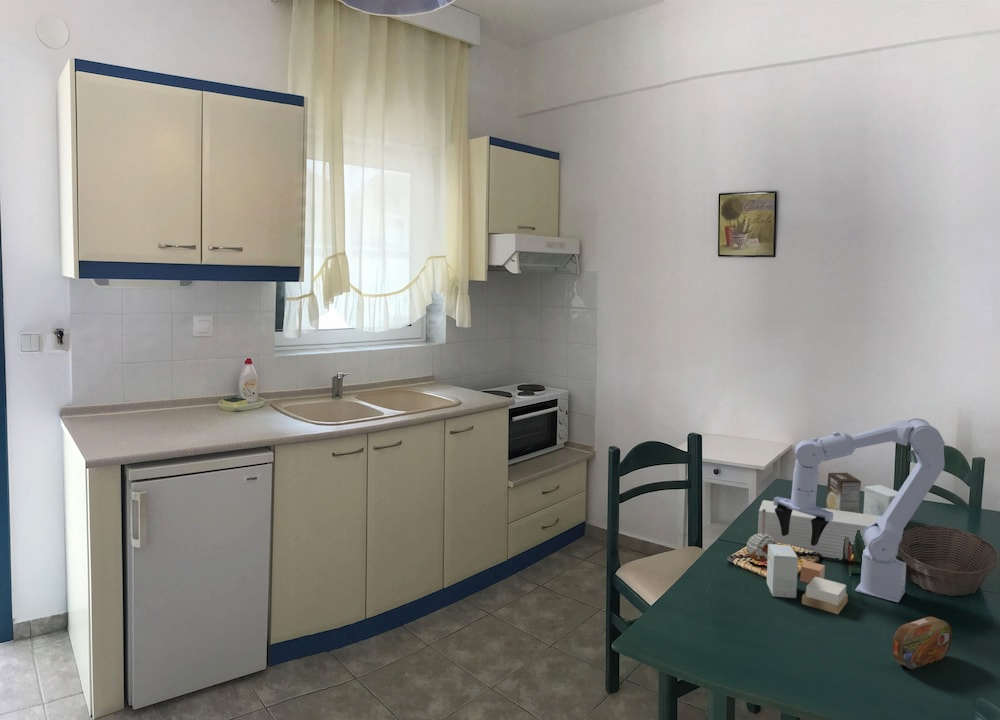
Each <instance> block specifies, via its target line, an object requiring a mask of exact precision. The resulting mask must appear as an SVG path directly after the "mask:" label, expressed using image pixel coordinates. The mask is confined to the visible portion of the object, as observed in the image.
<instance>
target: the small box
mask: <svg viewBox="0 0 1000 720" xmlns="http://www.w3.org/2000/svg"><path fill="white" fill-rule="evenodd" d="M798 566H799V557H798V555H797V552H794V550H793V548H792V547H791V545H778V544H768V560H767V566H766V567H767V568H766V571H767V572H766V584H767V587H768V589H769V592H770V593H771V595H772V597H775V598H790V599H797V594H798V593H797V592H798V591H797V589H798V568H799V567H798Z"/></svg>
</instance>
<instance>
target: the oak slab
mask: <svg viewBox="0 0 1000 720" xmlns="http://www.w3.org/2000/svg"><path fill="white" fill-rule="evenodd" d="M848 595H849V594H848V593H846V595H845V596H844V598H843V599H842V600H841V602H840V603H839V604H838V605H834V604H831V603H827V602H824V601H820V600H817V599H813V598H810V597H806V591H805V592H804V593H803V594H802V596H801V604H802V605H805V606H808V607H812V608H816V609H819V610H822V611H825V612H829V613H832V614H835V615H839V614H840V613H841V611H842V610H843V609H844V607H845V606H846V605H847V604H848Z"/></svg>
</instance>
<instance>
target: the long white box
mask: <svg viewBox="0 0 1000 720" xmlns="http://www.w3.org/2000/svg"><path fill="white" fill-rule="evenodd" d="M773 502H774V500H765V499H763V500H762V502H761V505H760V508H759V509H758V521H757V525H758V526H757V534H760V533H761V531H762V510H763V509H766V512H765V533H764V534H766V535H769V536H771V537H772V538H773V539H774V540H775V541H776V542H778V543H784V544H790V545H793V546H797V547H800V548H803V549H807V550H810V551H813V552H816V553H819V554H821V555H822V556H821V557H824V558H830V559H836V558H839V559H838V560H842V558H843V544H844V539H845V536H846V537H848V538H849V540H850V542H851V544H852V545H853V544H854V540H855V536H856V533H857V530H860V534H861V536H862V539H863V532H864V530H865V529H866V528H867V527H868V526H870V525H872V524H873V523H874V522H875V521H876V519H877V518H879V517H880V516H876V515H868V514H863V513H860V512H859V513H854V512H846V511H839V510H832V509H826V507H825V508H823V507H821V508H822V509H825V510H827V511H830V512H833V520H832V521H829V523H828V524H827V525H826V527H825V528H824V530H823V531H822V533H821V536H820V538H819V541H818V544H817V545H815V546H812V545H811V537H812V523H811V519H814V518H816V517H815V516H812V515H809V514H805V513H802V512H799V511H795V510H792V514H791V518H790V524H789V533H788V535H786V536H782V532H781V526H780V522H779V519H778V517H777V515H776V513H775V508H777V506H776V505H773ZM863 541H864V539H863ZM864 545H865V548H866V546H867V544H866V543H865V541H864Z"/></svg>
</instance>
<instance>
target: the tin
mask: <svg viewBox="0 0 1000 720" xmlns="http://www.w3.org/2000/svg"><path fill="white" fill-rule="evenodd" d="M952 641H953V633H952V628H951V625H950V624H949V622H947V621H946V620H944V619H940V618H937V617H935V616H926V617H922V618H919V619H917V620H914V621H910V622H907V623H903V624H902V625H900V626H899V627H898V628H897V630H896V631H895V633H894V635H893V639H892V646H891V647H892V649H891V650H892V656H893V658H894V660H895V662H897V663H898V664H900V665H902V666H905V667H906V668H908V669H910V670H914V669H913V668H915V667H919V666H922V665H925V666H927V665H926V664H928V663H930V664H933V663H935V662H934V661H936V662H939V661H941V660H942V659H944V658H945V657H946V655H947V654H948V652H949V651H950V648H951V645H952ZM938 660H939V661H938ZM932 662H933V663H932ZM928 665H929V664H928ZM922 667H923V666H922ZM919 668H920V667H919Z"/></svg>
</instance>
